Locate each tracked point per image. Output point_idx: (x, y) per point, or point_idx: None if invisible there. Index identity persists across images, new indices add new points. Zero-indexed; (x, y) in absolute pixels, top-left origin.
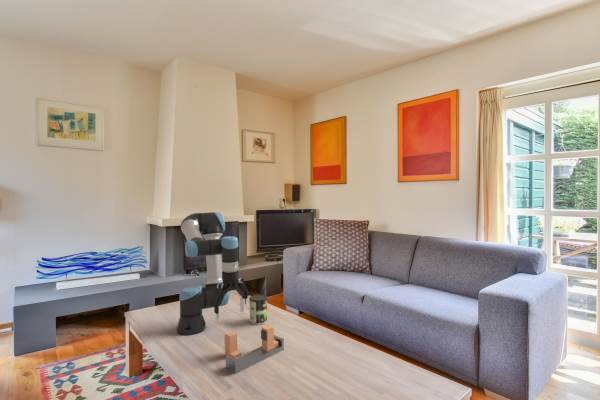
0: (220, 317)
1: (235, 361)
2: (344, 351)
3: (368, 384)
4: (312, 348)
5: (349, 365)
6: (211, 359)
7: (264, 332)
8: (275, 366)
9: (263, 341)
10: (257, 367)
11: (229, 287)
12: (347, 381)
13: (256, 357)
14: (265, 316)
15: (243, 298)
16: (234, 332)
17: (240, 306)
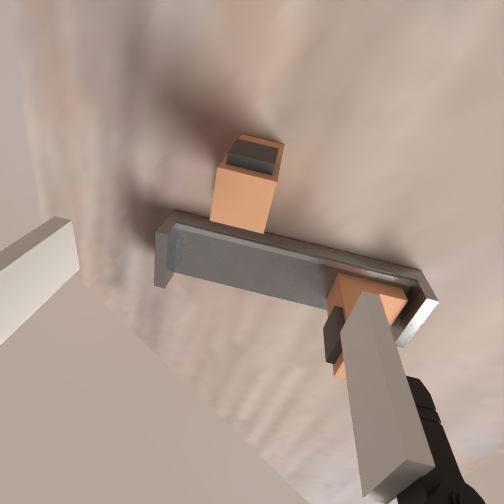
0: (56, 288)
1: (155, 284)
2: None
3: (304, 469)
4: (431, 378)
5: None
6: (175, 103)
7: (327, 355)
8: (273, 333)
9: (338, 304)
10: (239, 295)
11: None
12: (295, 448)
13: (264, 289)
14: None
15: (391, 492)
16: (268, 210)
17: (372, 334)
